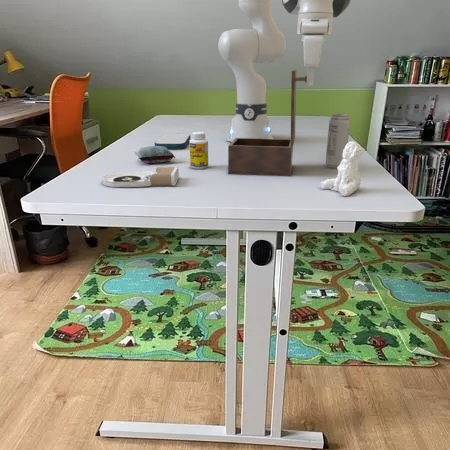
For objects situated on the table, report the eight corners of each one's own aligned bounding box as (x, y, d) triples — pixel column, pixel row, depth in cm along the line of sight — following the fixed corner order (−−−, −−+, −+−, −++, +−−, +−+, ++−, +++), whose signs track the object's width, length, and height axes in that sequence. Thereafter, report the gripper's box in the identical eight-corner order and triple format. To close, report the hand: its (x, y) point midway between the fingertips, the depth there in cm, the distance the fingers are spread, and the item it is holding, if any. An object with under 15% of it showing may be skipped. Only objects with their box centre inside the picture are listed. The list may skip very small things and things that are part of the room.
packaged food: (135, 160, 149) (133, 144, 147) (170, 158, 152) (170, 142, 150) (139, 166, 142) (137, 149, 139) (176, 163, 145) (175, 147, 143)
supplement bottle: (187, 168, 138) (185, 133, 133) (194, 164, 143) (193, 130, 138) (204, 170, 136) (203, 134, 132) (211, 166, 141) (210, 131, 136)
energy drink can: (347, 168, 138) (353, 115, 131) (328, 168, 137) (333, 116, 131) (341, 164, 143) (347, 113, 136) (322, 164, 143) (327, 113, 136)
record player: (173, 175, 117) (96, 176, 117) (174, 187, 118) (97, 188, 119) (178, 165, 127) (107, 166, 128) (179, 176, 129) (109, 177, 129)
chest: (228, 173, 132) (228, 145, 128) (235, 163, 144) (235, 137, 140) (290, 176, 129) (291, 147, 126) (292, 165, 141) (293, 139, 138)
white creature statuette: (318, 188, 117) (322, 140, 112) (343, 183, 121) (348, 137, 116) (344, 197, 110) (350, 145, 104) (370, 192, 114) (377, 142, 108)
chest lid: (291, 70, 117) (311, 70, 116) (293, 69, 129) (311, 68, 128) (290, 145, 125) (308, 145, 125) (292, 137, 138) (309, 137, 137)
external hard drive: (163, 138, 187) (163, 133, 186) (191, 138, 186) (191, 133, 185) (153, 149, 165) (152, 143, 165) (184, 149, 165) (184, 143, 164)
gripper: (302, 29, 128) (299, 83, 134) (301, 25, 110) (297, 87, 116) (325, 29, 127) (321, 83, 133) (328, 24, 109) (322, 87, 115)
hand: (309, 85), depth 124 cm, fingers closed on chest lid, 5 cm apart
